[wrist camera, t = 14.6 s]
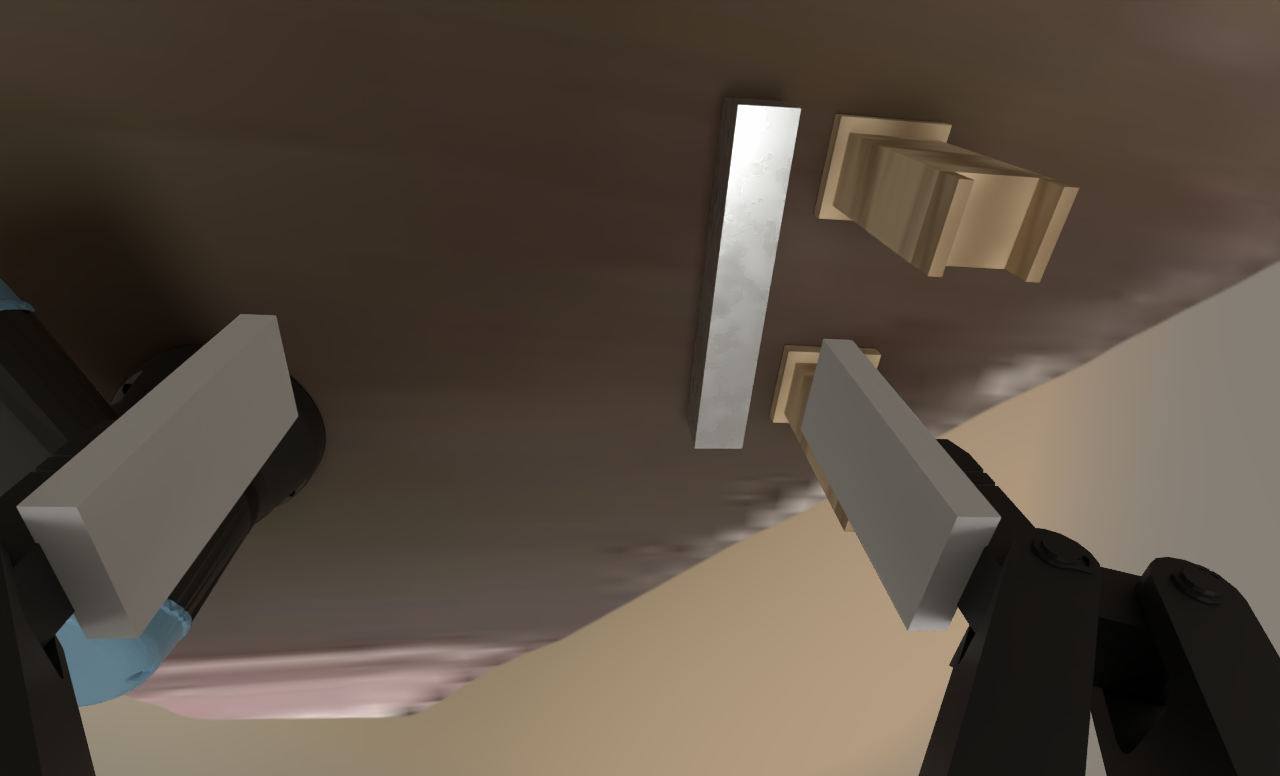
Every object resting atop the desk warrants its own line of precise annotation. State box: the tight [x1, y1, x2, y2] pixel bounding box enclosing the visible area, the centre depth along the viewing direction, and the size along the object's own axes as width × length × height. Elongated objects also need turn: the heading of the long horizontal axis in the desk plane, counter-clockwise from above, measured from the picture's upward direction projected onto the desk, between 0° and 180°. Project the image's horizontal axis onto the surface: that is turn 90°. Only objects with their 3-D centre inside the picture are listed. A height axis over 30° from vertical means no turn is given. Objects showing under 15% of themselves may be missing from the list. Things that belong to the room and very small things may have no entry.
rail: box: [686, 97, 801, 449], centre depth 48 cm, size 4×26×5 cm, turn 177°
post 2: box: [814, 114, 1079, 282], centre depth 39 cm, size 8×7×16 cm
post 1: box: [770, 345, 881, 532], centre depth 48 cm, size 8×7×16 cm
